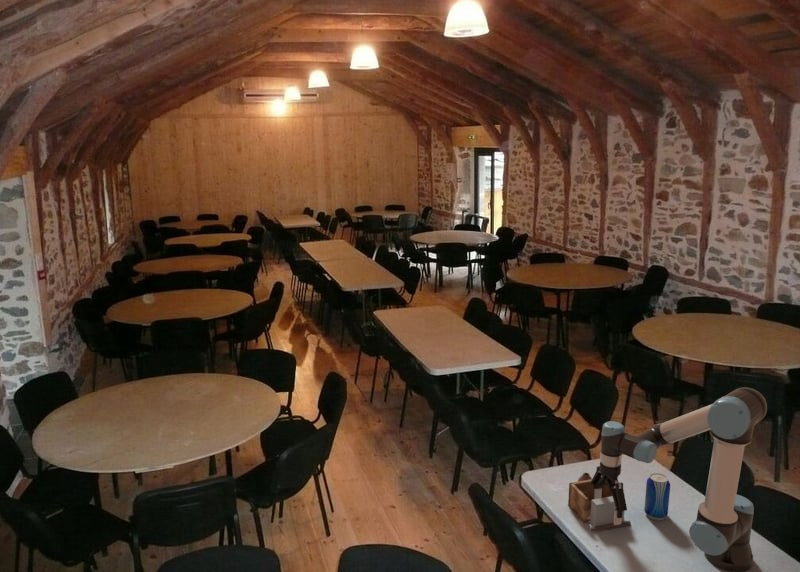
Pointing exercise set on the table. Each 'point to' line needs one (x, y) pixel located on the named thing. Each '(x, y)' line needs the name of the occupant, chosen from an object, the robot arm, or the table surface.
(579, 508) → the box
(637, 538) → the table surface
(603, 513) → the grey flat-topped box
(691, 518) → the table surface
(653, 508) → the beer can
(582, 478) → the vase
